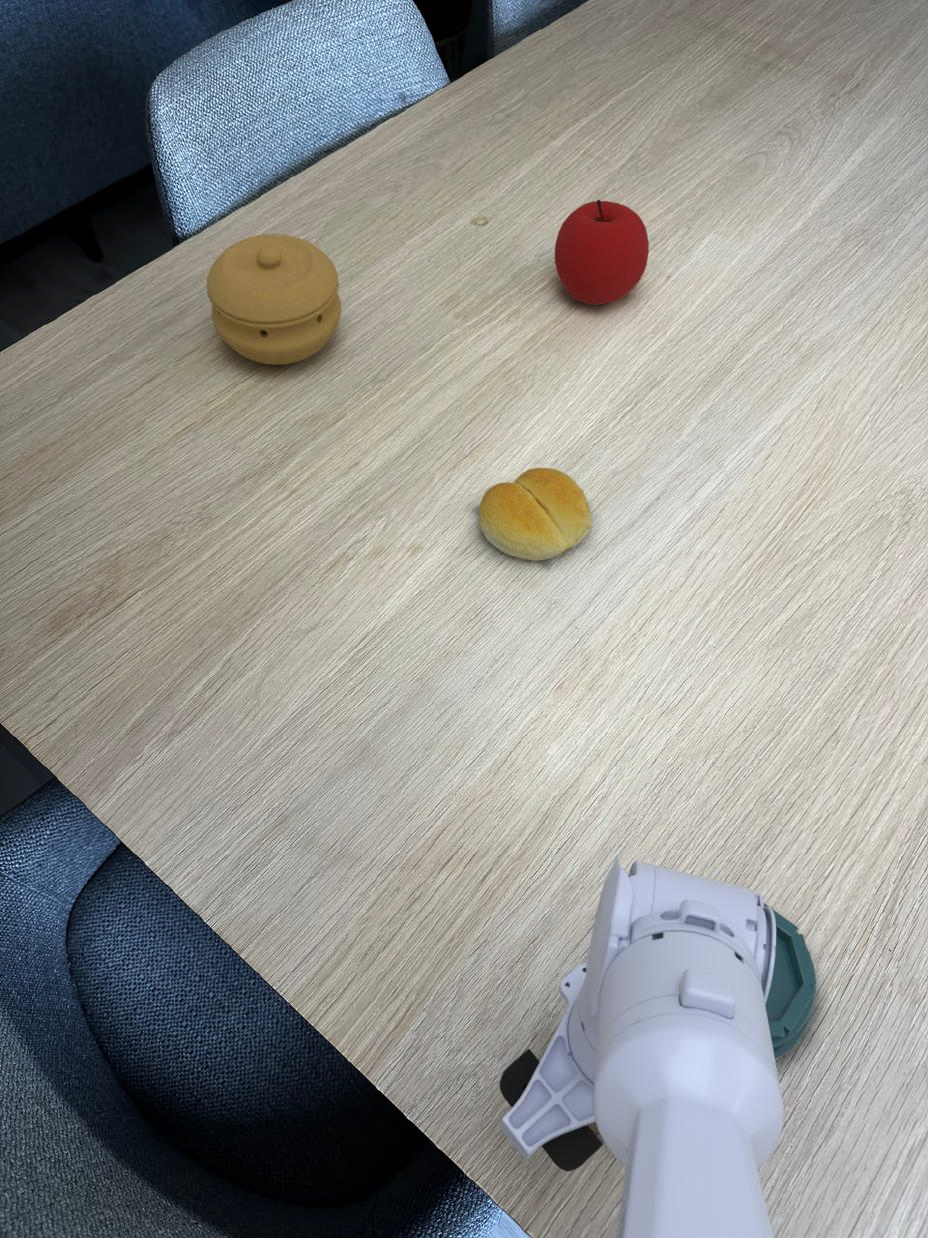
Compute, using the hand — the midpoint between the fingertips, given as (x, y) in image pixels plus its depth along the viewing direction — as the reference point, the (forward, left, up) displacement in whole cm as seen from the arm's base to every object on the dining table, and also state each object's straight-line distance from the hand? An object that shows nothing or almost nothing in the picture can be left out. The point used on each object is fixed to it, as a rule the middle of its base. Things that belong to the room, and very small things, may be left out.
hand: (600, 1075), depth 59 cm
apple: (+73, -12, -2) cm, 74 cm away
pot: (+67, +19, -2) cm, 70 cm away
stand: (+5, -9, -2) cm, 10 cm away
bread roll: (+43, -2, -2) cm, 43 cm away
